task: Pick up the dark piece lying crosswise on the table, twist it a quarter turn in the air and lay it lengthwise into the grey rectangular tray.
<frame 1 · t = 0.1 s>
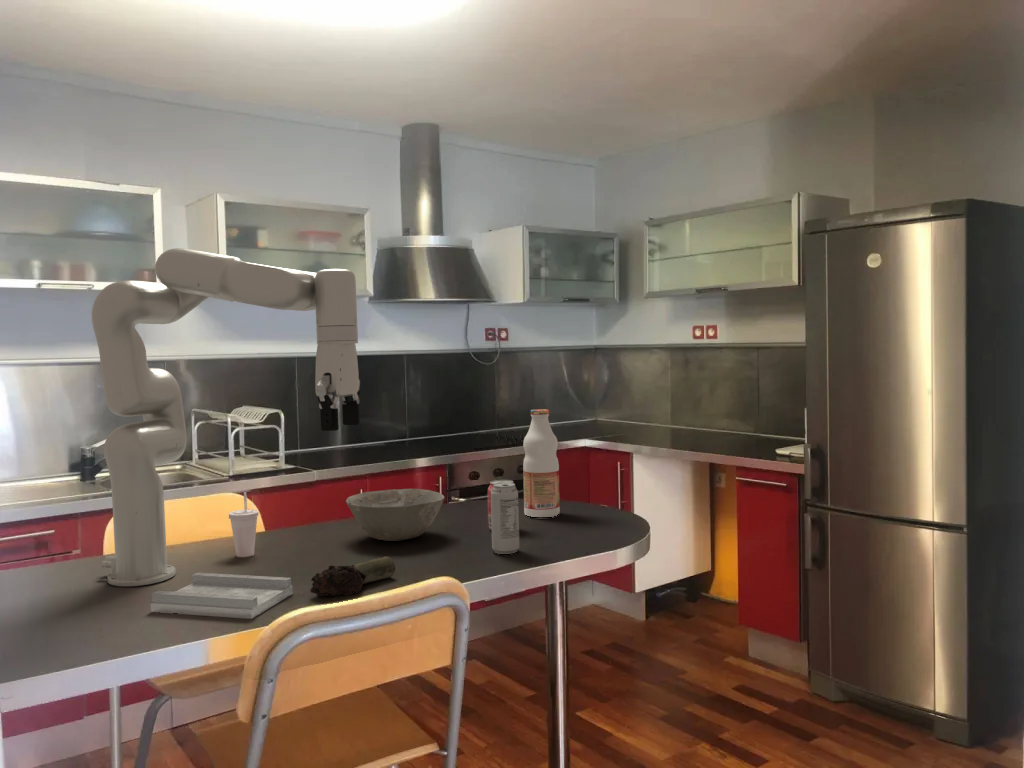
hand: (340, 427, 155), 31 cm above the table, tool pointing down, fingers open, 9 cm apart
ceramic bowl: (396, 539, 197), on the table
energy drink can: (505, 552, 182), on the table
dark piece: (355, 590, 158), on the table
fruit juice: (541, 515, 219), on the table
smoothie: (245, 555, 185), on the table
soda can: (502, 530, 203), on the table
grey rectangular tray: (223, 602, 151), on the table
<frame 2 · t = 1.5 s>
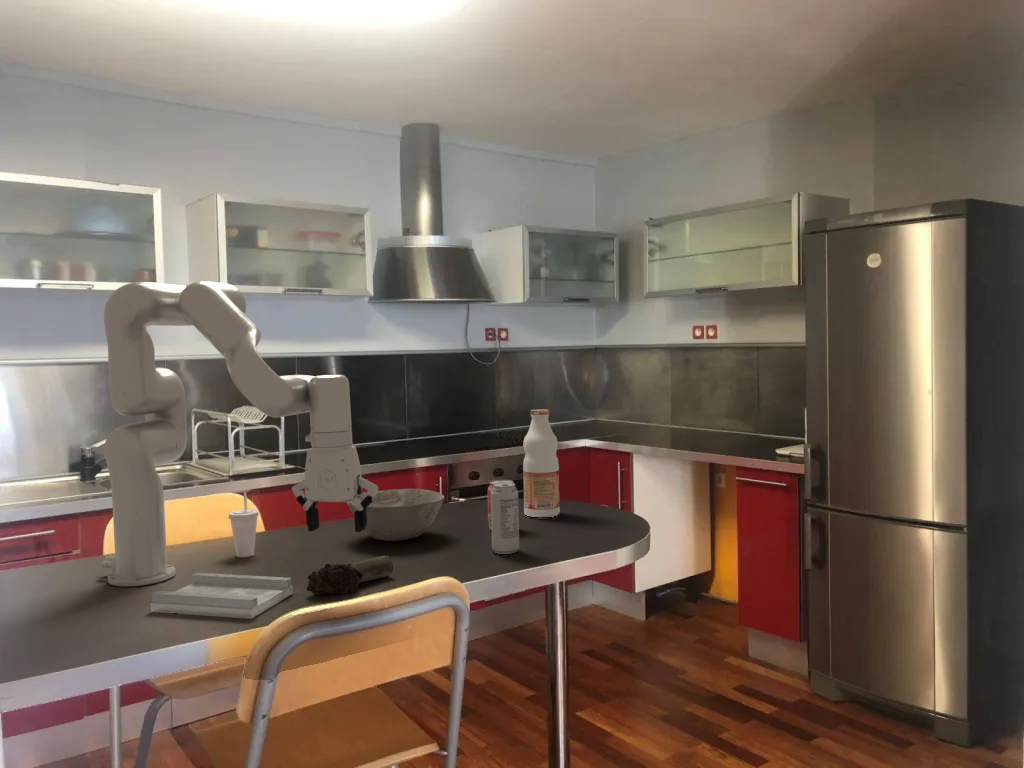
hand: (337, 530, 157), 11 cm above the table, tool pointing down, fingers open, 9 cm apart
dark piece: (352, 588, 159), on the table
everything else where it was.
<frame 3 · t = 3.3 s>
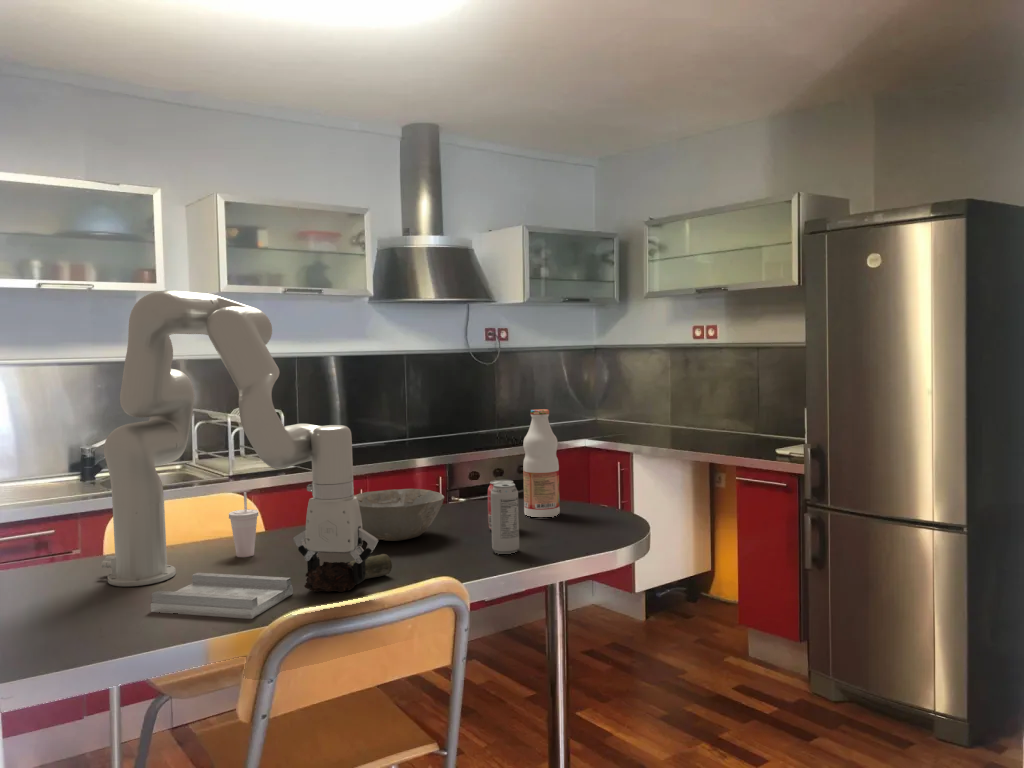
hand: (336, 580, 157), 2 cm above the table, tool pointing down, fingers closed on dark piece, 8 cm apart
dark piece: (350, 586, 160), on the table, touching gripper
everything else where it was.
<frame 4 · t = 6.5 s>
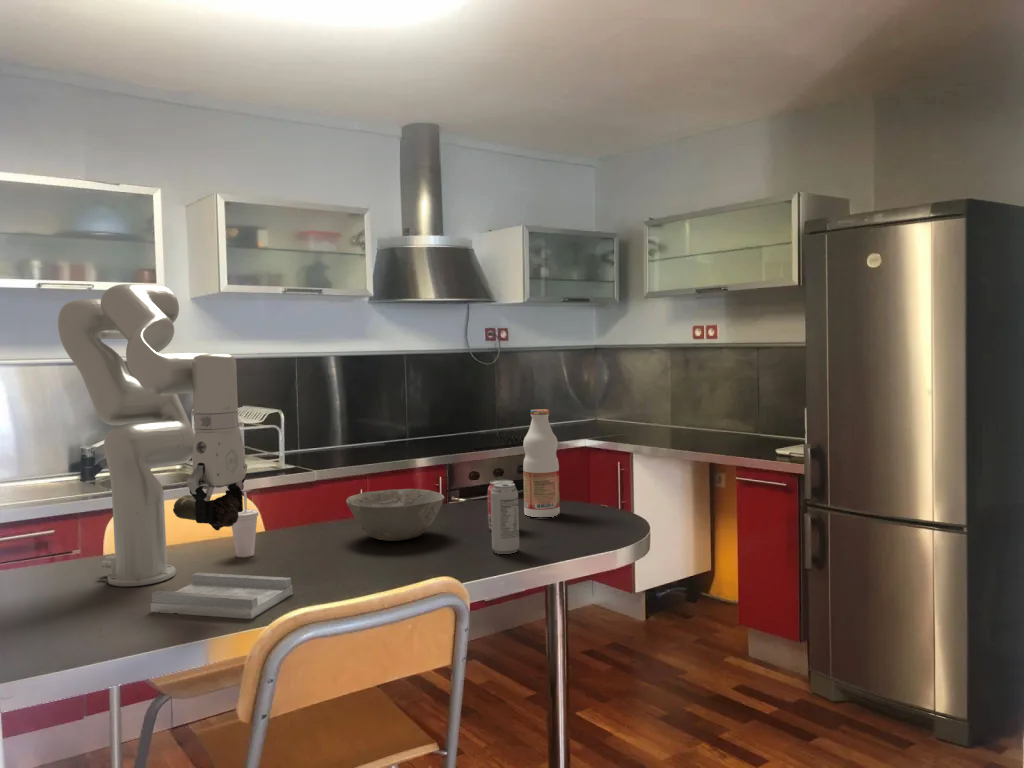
hand: (220, 516, 150), 16 cm above the table, tool pointing down, fingers closed on dark piece, 8 cm apart
dark piece: (211, 524, 152), point 14 cm above the table, touching gripper
everything else where it was.
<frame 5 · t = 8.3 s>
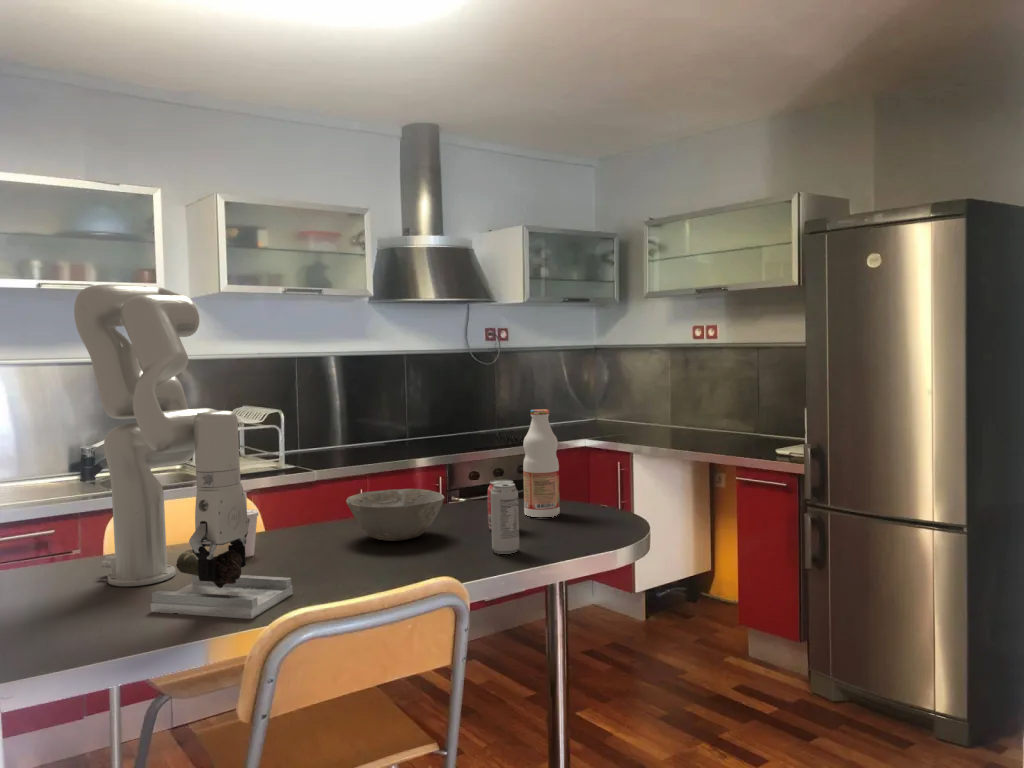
hand: (223, 573, 151), 5 cm above the table, tool pointing down, fingers closed on dark piece, 8 cm apart
dark piece: (214, 580, 153), point 4 cm above the table, touching gripper
everything else where it was.
when the fingers open (4 cm above the table, at t = 9.7 s): dark piece stays where it is, resting on grey rectangular tray.
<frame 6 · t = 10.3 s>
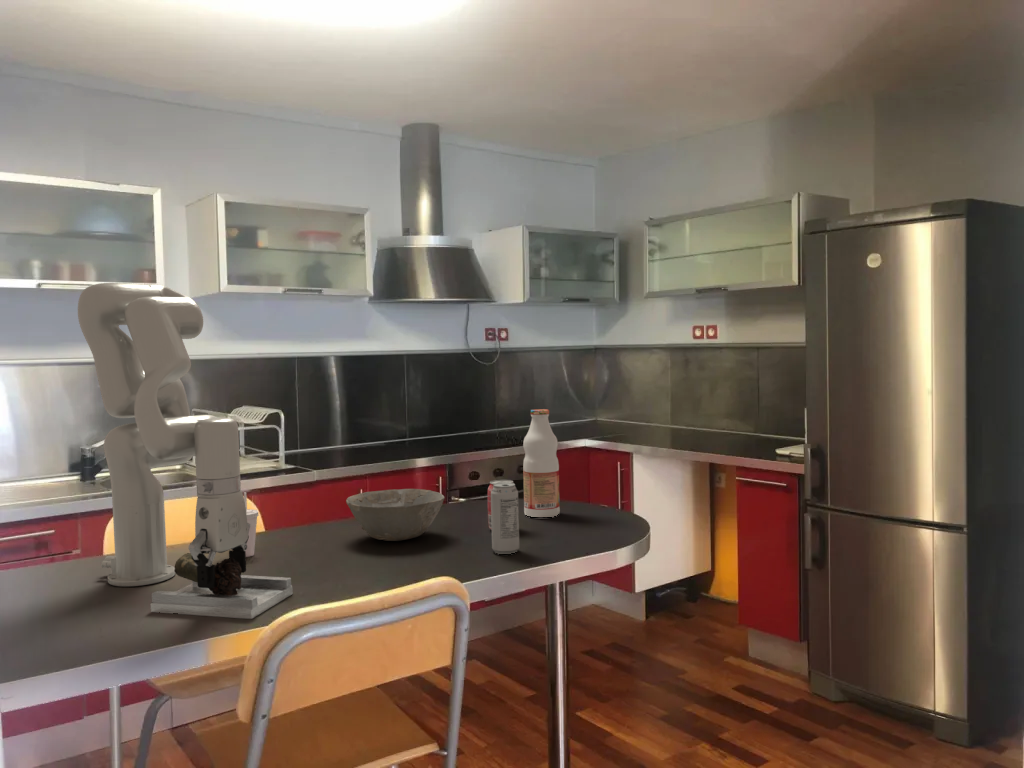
hand: (222, 579, 151), 4 cm above the table, tool pointing down, fingers open, 9 cm apart
dark piece: (215, 586, 153), point 2 cm above the table, touching grey rectangular tray
everything else where it was.
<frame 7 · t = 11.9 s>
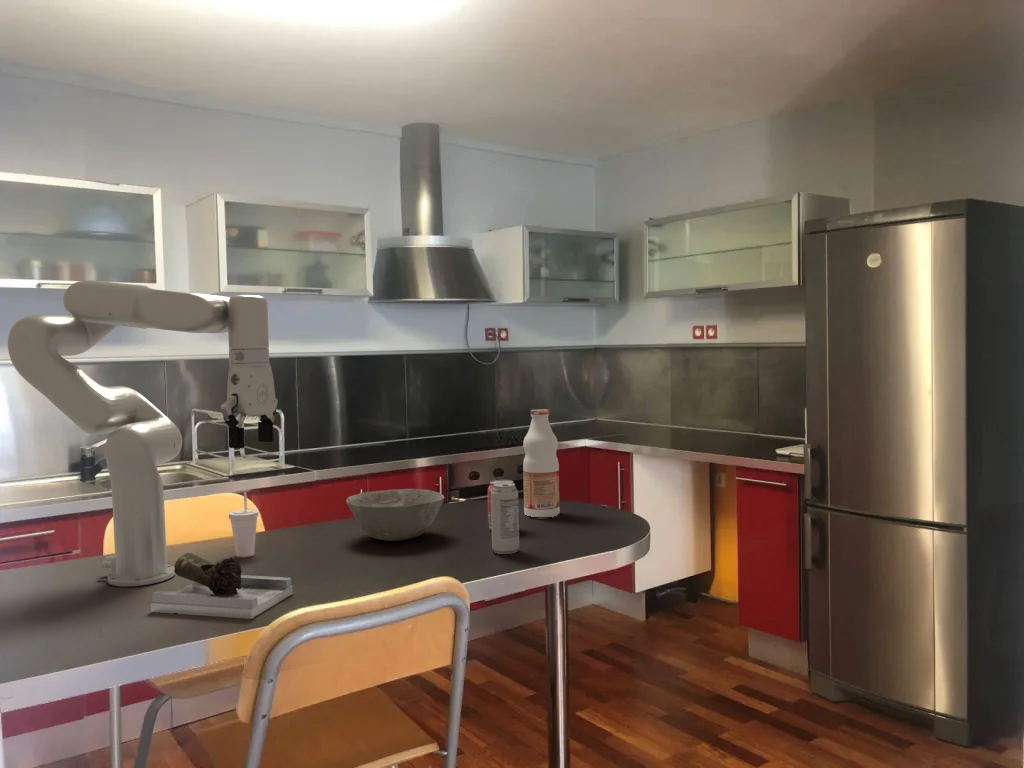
hand: (251, 444, 164), 27 cm above the table, tool pointing down, fingers open, 9 cm apart
nothing on the table moved.
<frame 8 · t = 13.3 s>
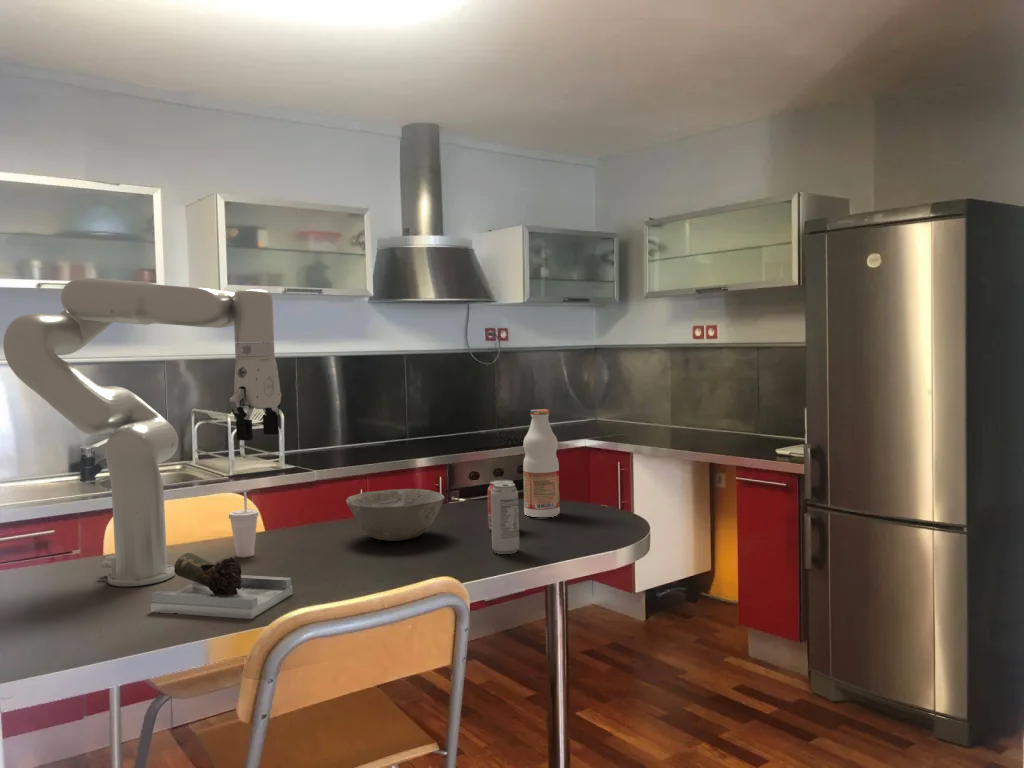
hand: (258, 437, 166), 28 cm above the table, tool pointing down, fingers open, 9 cm apart
nothing on the table moved.
at the end: dark piece inside the target area on the grey rectangular tray (3.1 cm from its centre), point 2.4 cm above the grey rectangular tray's base; the gripper is holding nothing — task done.
